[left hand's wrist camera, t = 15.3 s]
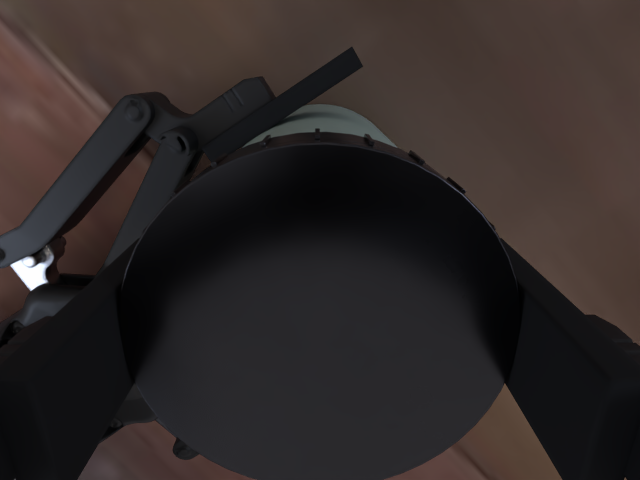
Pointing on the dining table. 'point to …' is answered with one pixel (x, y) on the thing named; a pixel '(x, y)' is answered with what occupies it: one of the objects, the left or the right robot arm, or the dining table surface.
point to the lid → (319, 310)
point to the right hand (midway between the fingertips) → (414, 166)
